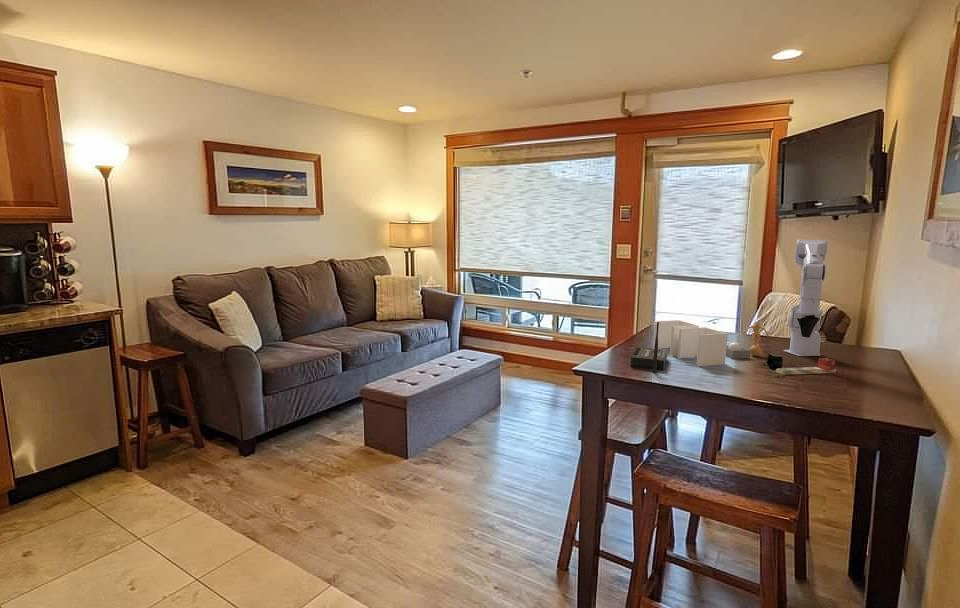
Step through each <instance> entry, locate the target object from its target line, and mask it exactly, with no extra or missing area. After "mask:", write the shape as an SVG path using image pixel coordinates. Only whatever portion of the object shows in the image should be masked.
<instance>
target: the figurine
mask: <svg viewBox="0 0 960 608" xmlns="http://www.w3.org/2000/svg"><path fill="white" fill-rule="evenodd" d="M750 329H752V330H753V332H752V333H751V335H752V336H751V338H752V346H750V348H749V350H751V351H750V355H752V356H753V357H758V356H760V355H761V354H762V352H763V350H762V347H760V345H759V343H760V341H761V333H760V332H759V331H760V330H763V331H764V332H765V334H766V336H767V338H769V334H768V333H769V332H767V330H766V328H765V327H762V326H760V325H759V323H754V324H753V325H751V326H748V327H746V329H745V331H744V333H743V336H746V334H747V332H748V330H750ZM755 338H757V341H756V344H755V340H756V339H755Z"/></svg>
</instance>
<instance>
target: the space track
mask: <svg viewBox="0 0 960 608" xmlns="http://www.w3.org/2000/svg"><path fill="white" fill-rule="evenodd" d="M817 361H818V362H817V366H809V367H807V366H806V367H784V368H777V369H776V370H775V373H777V374H780V375H782V376H784V375H812V374H813V375H815V374H835V373H837V369H835V365H836V360H834V359H831V358H828V357H818V360H817Z"/></svg>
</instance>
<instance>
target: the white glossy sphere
mask: <svg viewBox="0 0 960 608" xmlns="http://www.w3.org/2000/svg"><path fill="white" fill-rule="evenodd" d="M727 346H728V348H730V349H732V350H742V347H743V345H741V343H739V342H737V341H735V342H733V341H732V342H731V343H730V344H729V345H727Z"/></svg>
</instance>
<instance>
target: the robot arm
mask: <svg viewBox="0 0 960 608" xmlns="http://www.w3.org/2000/svg"><path fill="white" fill-rule="evenodd" d="M828 244H829V243H828V240H827V239H823V240H822V239H800V238H799V239H798V240H796V245H795V252H794V253H795V256H794V258H795V259H794V260H795V263H796V264H798V265H800V269H801V276H800V287H799V298H798V304H796V305H794V306H792V307H791V309H790V310H789V315H788V323H787V327H788V328H789V329H791V334H790V335H791V336H790V342H789V349H784V350H783V352H785V353H787V354H792V355H795V356H797V357H811V356H812V357H813V356H814V357H816V356H819V357H820V356H821V355H822V354H821V353H820V351H821V350H820V348H821V342H822V337H821V334H820V333H819V332H818V331H820V327H821V320H822V319H821V316H823V309H820V306H821V305H820V303H821V297H822V291H823V290H822V289H823V282H824V280H825V278H826V273H827V267H826V264H825V263H824V261H825V260H826V255H827V252H828Z"/></svg>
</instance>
